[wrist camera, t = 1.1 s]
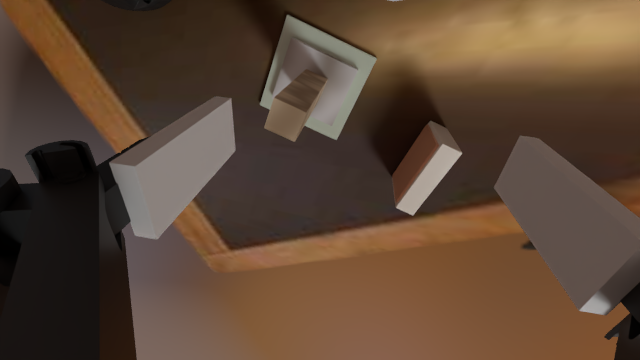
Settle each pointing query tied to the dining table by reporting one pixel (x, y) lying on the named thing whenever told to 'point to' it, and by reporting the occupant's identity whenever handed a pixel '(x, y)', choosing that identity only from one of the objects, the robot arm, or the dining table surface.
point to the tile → (424, 167)
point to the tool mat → (330, 47)
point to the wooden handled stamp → (308, 89)
